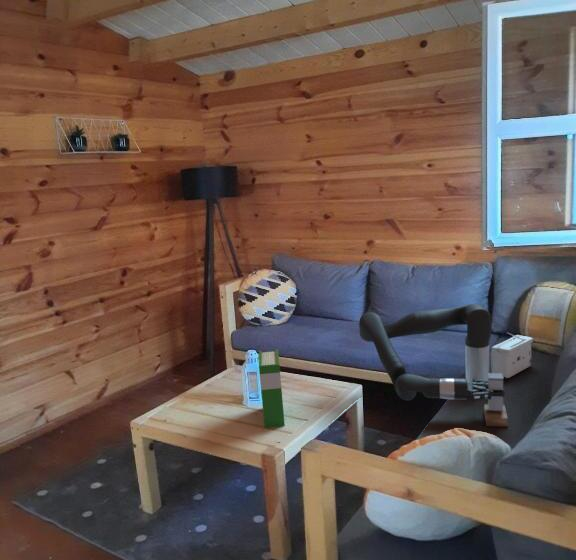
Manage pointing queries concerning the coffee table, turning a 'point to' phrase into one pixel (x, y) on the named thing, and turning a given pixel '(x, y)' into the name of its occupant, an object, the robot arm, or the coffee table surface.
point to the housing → (495, 384)
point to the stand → (495, 417)
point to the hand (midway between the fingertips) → (503, 390)
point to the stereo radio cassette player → (511, 355)
